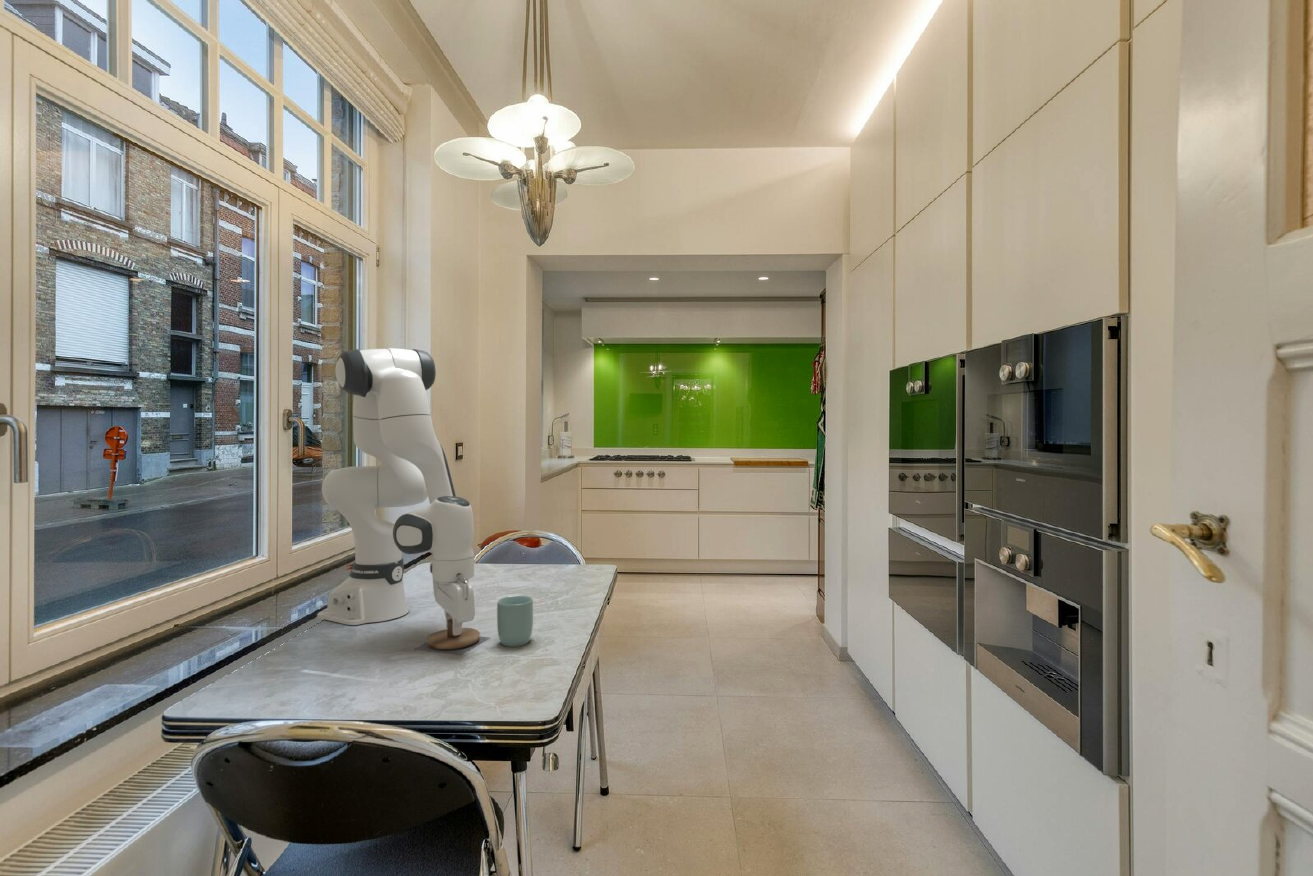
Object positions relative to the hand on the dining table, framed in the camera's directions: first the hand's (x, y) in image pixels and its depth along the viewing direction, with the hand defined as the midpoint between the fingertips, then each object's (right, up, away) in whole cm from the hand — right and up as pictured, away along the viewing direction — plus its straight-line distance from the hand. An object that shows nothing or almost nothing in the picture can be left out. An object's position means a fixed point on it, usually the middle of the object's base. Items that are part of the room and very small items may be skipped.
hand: (453, 631), depth 131 cm
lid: (0, -2, 0) cm, 2 cm away
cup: (+14, -3, 0) cm, 14 cm away
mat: (0, -3, -1) cm, 3 cm away
